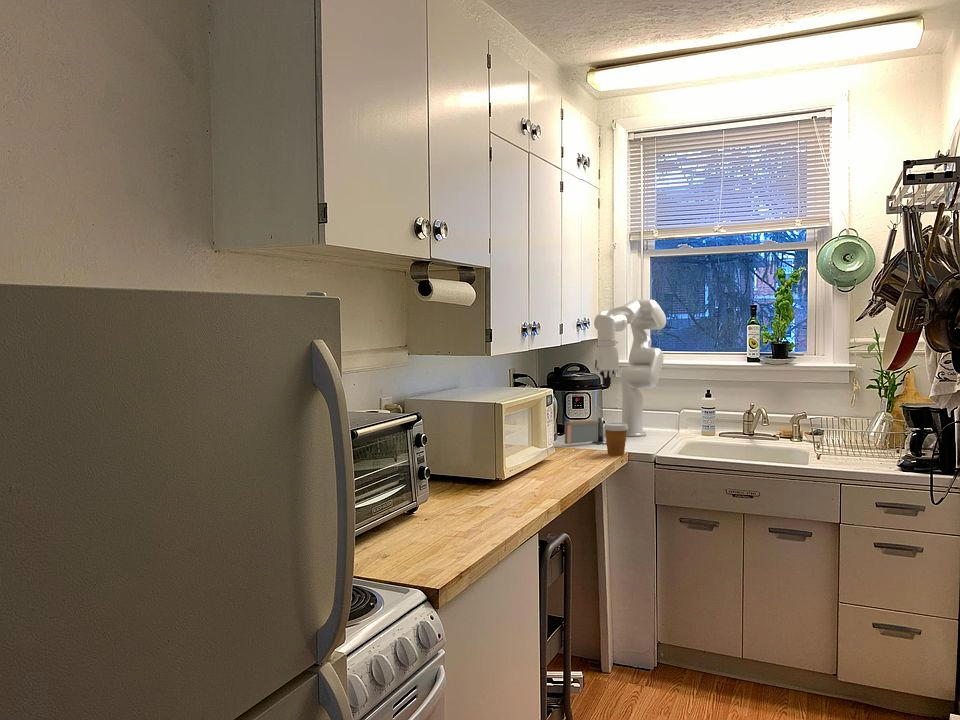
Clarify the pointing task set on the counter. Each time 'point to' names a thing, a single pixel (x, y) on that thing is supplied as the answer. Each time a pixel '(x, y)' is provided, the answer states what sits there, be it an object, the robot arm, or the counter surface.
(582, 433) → the bar
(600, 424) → the hinge post
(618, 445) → the disposable coffee cup
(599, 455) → the counter surface
